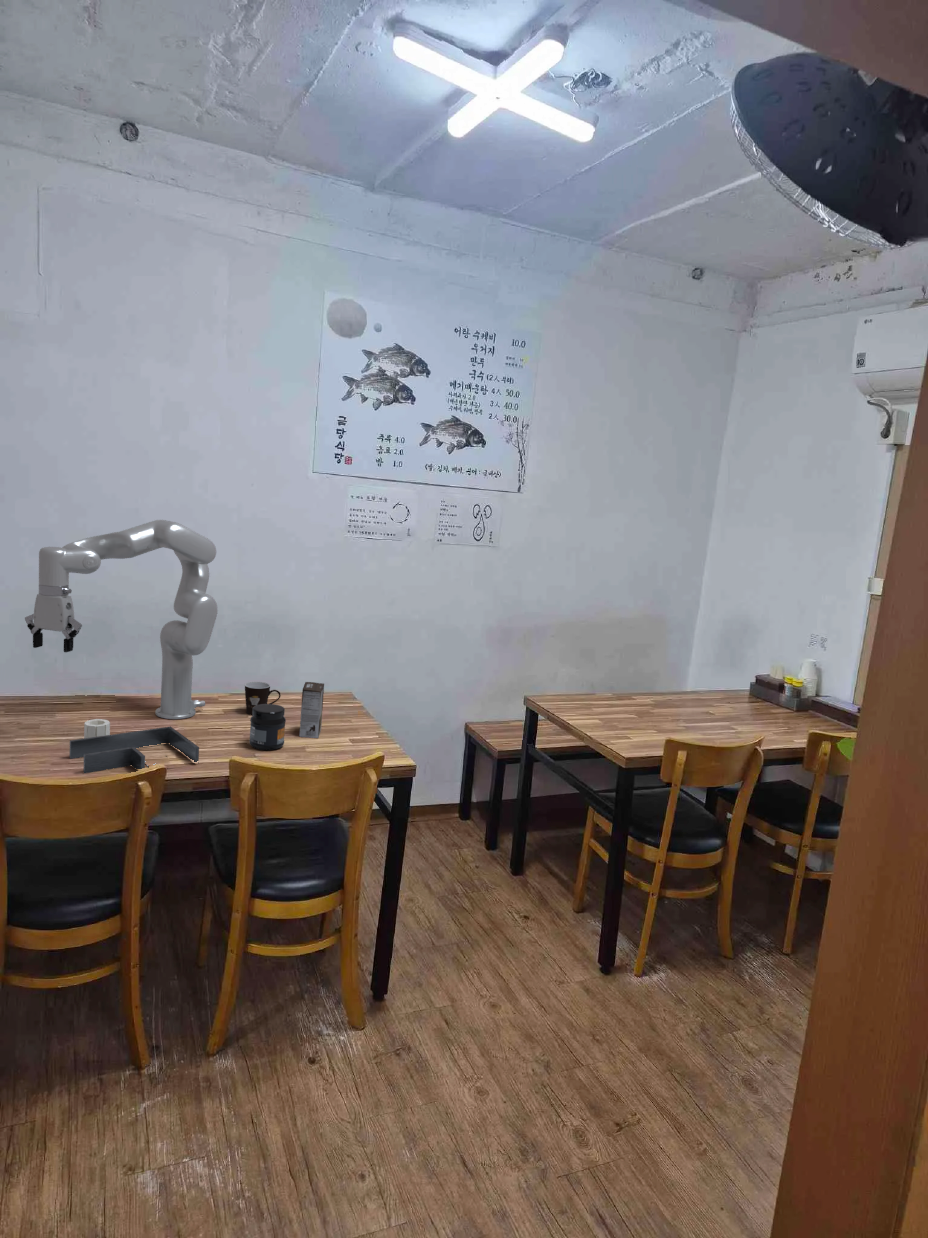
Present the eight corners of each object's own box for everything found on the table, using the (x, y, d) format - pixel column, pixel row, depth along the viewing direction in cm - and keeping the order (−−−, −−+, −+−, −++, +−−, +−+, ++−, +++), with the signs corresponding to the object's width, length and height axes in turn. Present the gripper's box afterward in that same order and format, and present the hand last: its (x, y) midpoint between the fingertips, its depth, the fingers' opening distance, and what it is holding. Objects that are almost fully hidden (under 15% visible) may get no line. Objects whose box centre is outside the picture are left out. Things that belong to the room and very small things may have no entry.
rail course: (170, 742, 231) (170, 726, 230) (198, 764, 217) (199, 747, 216) (69, 757, 212) (69, 740, 211) (93, 782, 198) (93, 764, 197)
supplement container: (289, 743, 241) (292, 706, 239) (274, 753, 231) (276, 715, 229) (259, 737, 243) (261, 701, 241) (242, 747, 233) (244, 709, 231)
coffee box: (302, 728, 256) (305, 681, 253) (321, 729, 257) (325, 682, 254) (298, 737, 247) (301, 688, 244) (318, 738, 248) (322, 690, 245)
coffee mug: (237, 713, 264) (239, 685, 263) (253, 707, 272) (255, 680, 271) (265, 720, 260) (267, 691, 259) (280, 714, 268) (282, 686, 266)
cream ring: (104, 737, 230) (105, 718, 229) (112, 743, 225) (112, 724, 224) (81, 740, 225) (82, 721, 224) (88, 747, 221) (89, 727, 220)
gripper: (89, 592, 221) (88, 650, 224) (35, 585, 223) (35, 643, 226) (72, 596, 214) (71, 655, 216) (16, 588, 216) (16, 647, 219)
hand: (53, 649), depth 221 cm, fingers open, 9 cm apart
